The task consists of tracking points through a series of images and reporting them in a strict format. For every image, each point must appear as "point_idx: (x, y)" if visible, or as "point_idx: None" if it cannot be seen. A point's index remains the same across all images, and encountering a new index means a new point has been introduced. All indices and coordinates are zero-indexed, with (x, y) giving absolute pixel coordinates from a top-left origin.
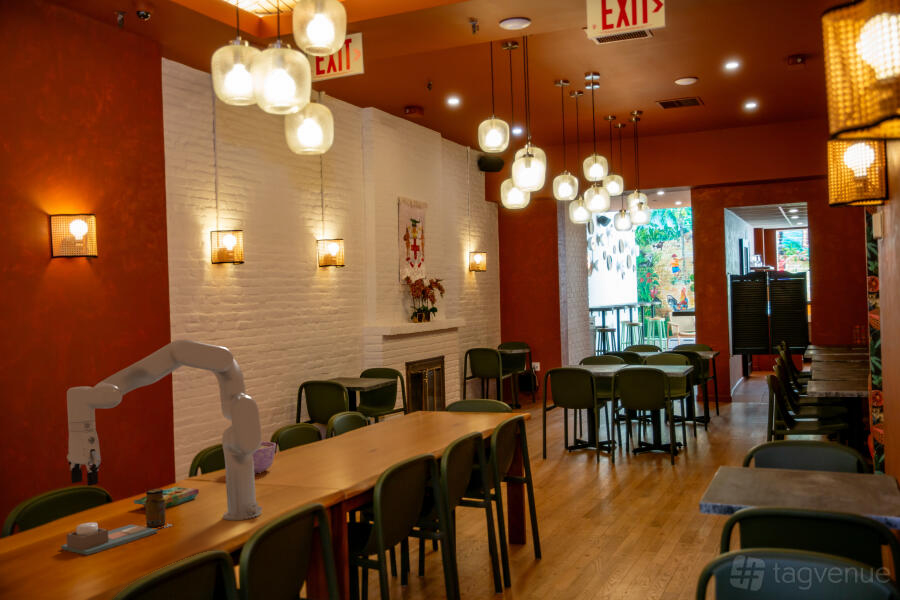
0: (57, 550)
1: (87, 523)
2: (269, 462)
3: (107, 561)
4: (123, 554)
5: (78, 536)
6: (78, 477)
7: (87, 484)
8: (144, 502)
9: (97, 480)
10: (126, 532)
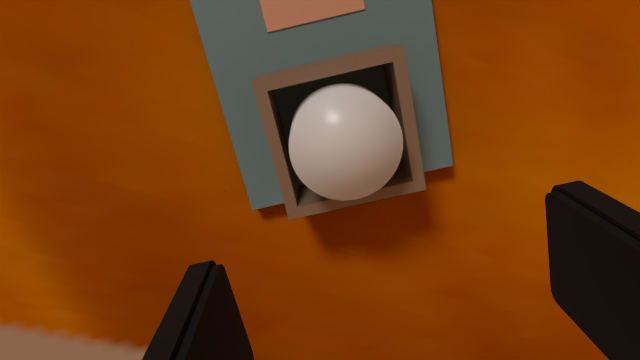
0: (253, 217)
1: (307, 131)
2: None
3: (602, 131)
4: (580, 47)
5: (389, 195)
6: (224, 338)
7: (567, 306)
8: None
9: (602, 200)
10: None
